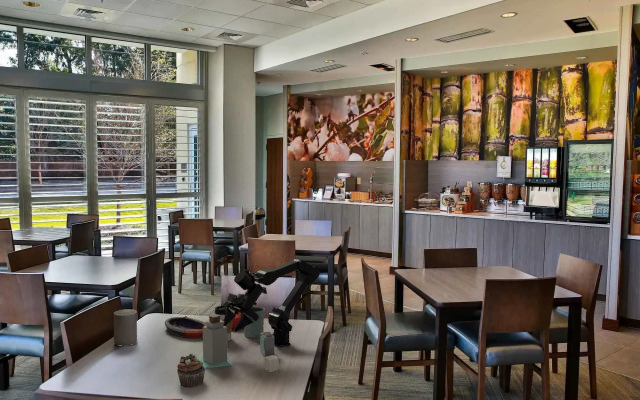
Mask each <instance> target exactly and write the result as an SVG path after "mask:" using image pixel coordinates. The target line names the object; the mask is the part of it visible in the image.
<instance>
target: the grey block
mask: <svg viewBox="0 0 640 400" xmlns="http://www.w3.org/2000/svg"><path fill="white" fill-rule="evenodd" d="M274 355H275V354H274ZM274 355H271V356H267V357H264V356H263V357H264V358H263V363H264V364H263V365H264V366H263V367H264V368H263V369H264V370H266V371H267V372H269V373H271V372H275V371H278V370H280V362H279V361H280V358H279V357H278V356H276V355H275V356H274Z"/></svg>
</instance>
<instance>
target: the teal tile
mask: <svg viewBox="0 0 640 400" xmlns="http://www.w3.org/2000/svg"><path fill="white" fill-rule="evenodd" d="M197 358H198V359H199V360H201V361H202V362H203V365H202V366H203V367H205V370H207V369H208V370H209V369H214V368H221V367H227V366H232V362H231V361H230V359H229V358H228V357H227V361H225V362H222V363H219V364H216V365H211V364H209V363H207V362H205V361H203V356H202V357H197Z"/></svg>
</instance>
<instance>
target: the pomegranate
mask: <svg viewBox="0 0 640 400" xmlns="http://www.w3.org/2000/svg"><path fill="white" fill-rule="evenodd" d="M235 315H236V317H235V318H234V319H233V321H232V330H234V329H235V327H236V325H237V324H238V322H239V320H240V319H241V313H238V314H235Z"/></svg>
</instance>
